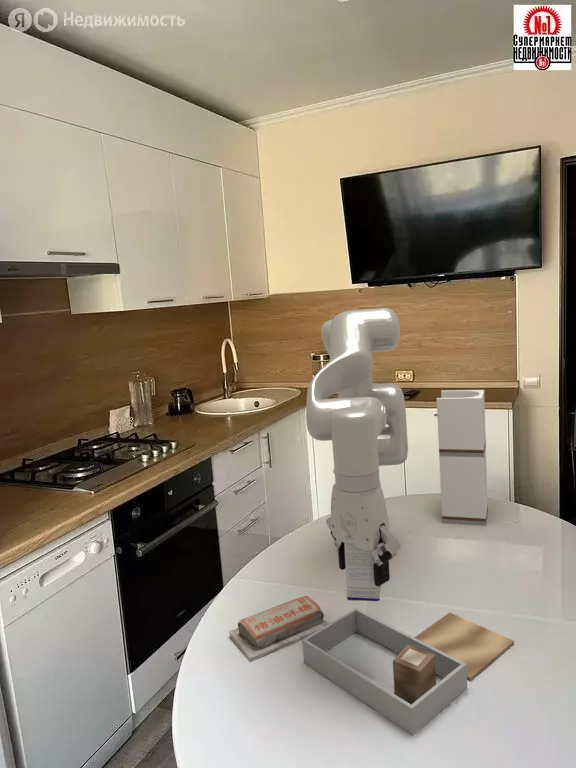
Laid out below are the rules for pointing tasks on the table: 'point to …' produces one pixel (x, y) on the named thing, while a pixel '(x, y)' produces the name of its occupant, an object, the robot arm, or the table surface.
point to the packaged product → (278, 627)
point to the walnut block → (413, 673)
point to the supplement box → (360, 573)
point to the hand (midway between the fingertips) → (364, 574)
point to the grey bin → (373, 693)
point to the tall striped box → (462, 456)
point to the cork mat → (466, 642)
